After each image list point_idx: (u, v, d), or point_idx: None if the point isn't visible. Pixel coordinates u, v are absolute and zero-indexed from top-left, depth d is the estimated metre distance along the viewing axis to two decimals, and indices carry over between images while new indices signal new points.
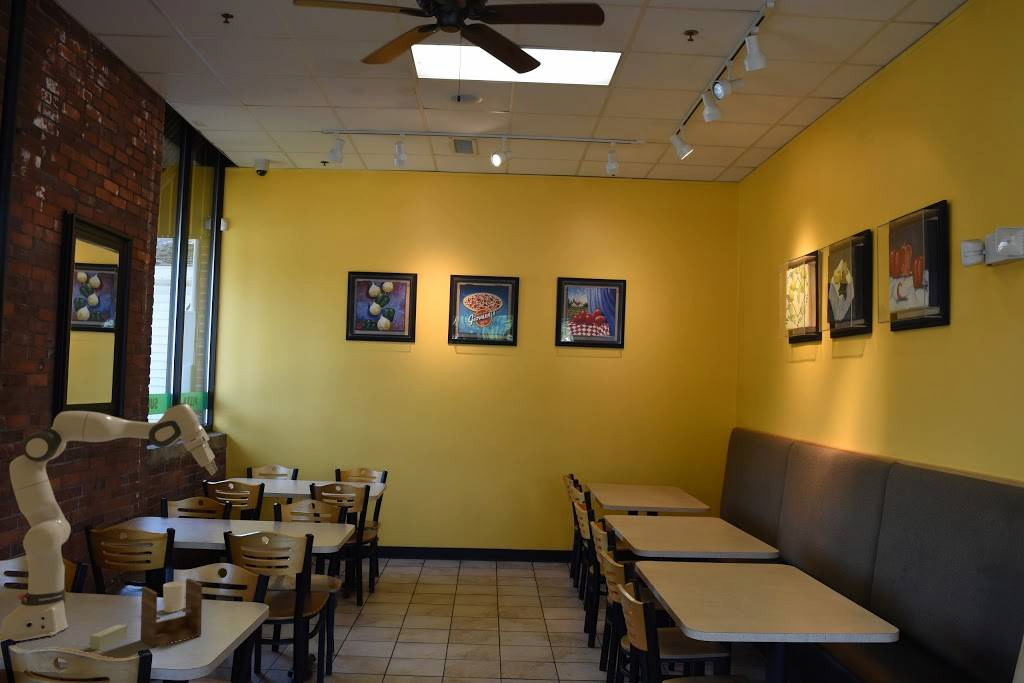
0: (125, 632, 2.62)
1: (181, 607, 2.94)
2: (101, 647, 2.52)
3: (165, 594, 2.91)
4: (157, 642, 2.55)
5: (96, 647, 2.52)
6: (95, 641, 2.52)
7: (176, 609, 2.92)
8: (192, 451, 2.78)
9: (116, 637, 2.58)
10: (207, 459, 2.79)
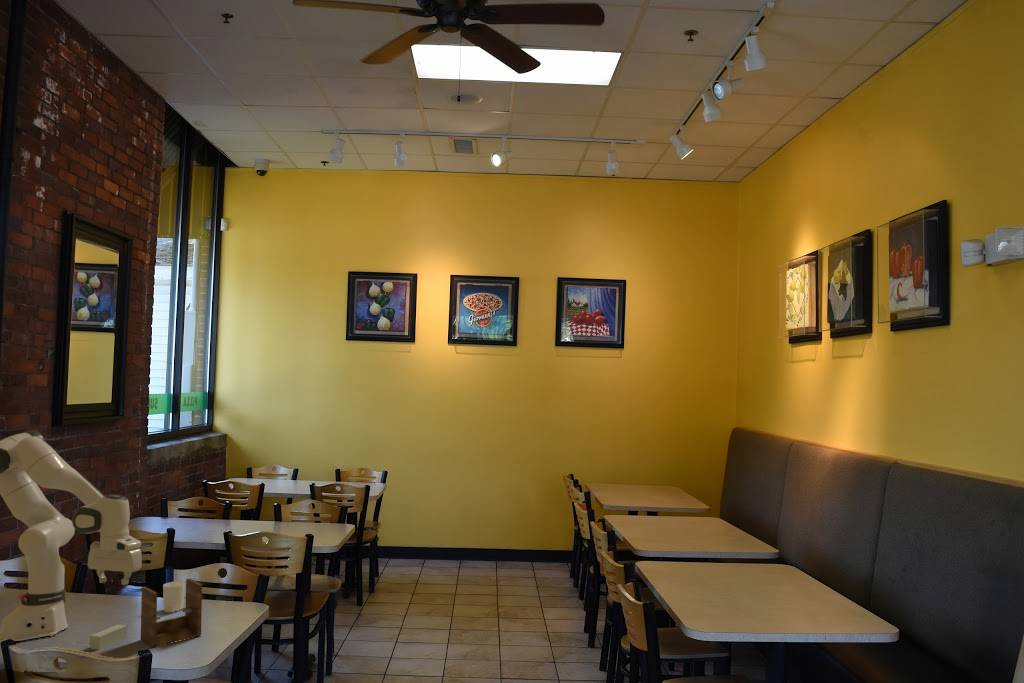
0: (125, 632, 2.62)
1: (181, 607, 2.94)
2: (101, 647, 2.52)
3: (165, 594, 2.91)
4: (157, 642, 2.55)
5: (96, 647, 2.52)
6: (95, 641, 2.52)
7: (176, 609, 2.92)
8: (131, 552, 2.55)
9: (116, 637, 2.58)
10: (140, 565, 2.57)
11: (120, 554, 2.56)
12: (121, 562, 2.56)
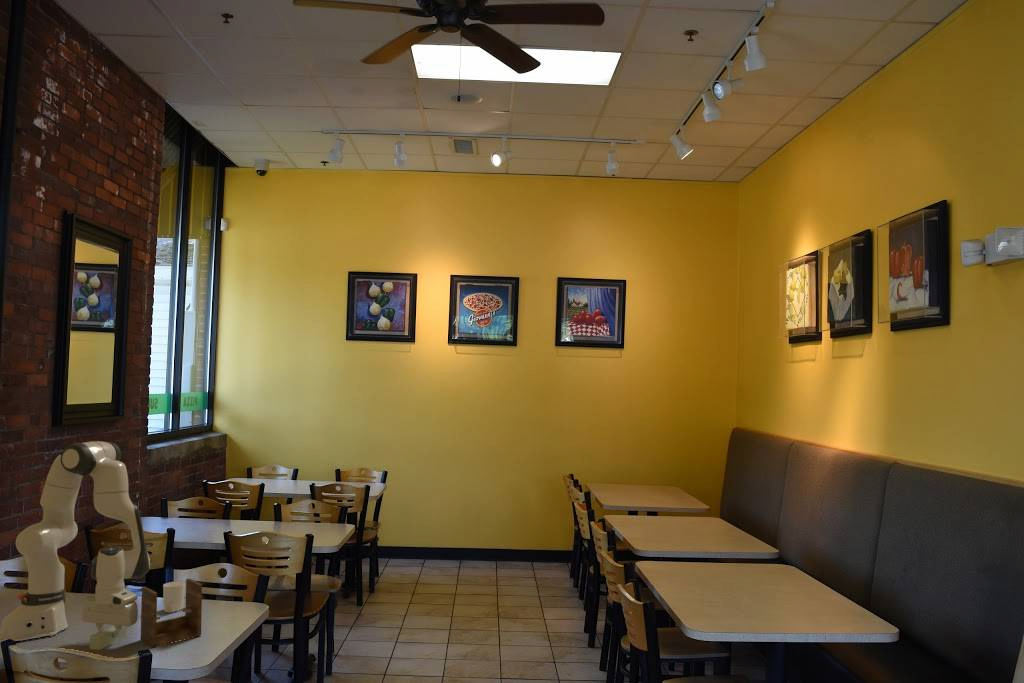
0: (125, 632, 2.62)
1: (181, 607, 2.94)
2: (101, 647, 2.52)
3: (165, 594, 2.91)
4: (157, 642, 2.55)
5: (96, 647, 2.52)
6: (95, 641, 2.52)
7: (176, 609, 2.92)
8: (127, 606, 2.54)
9: None
10: (136, 619, 2.57)
11: (116, 608, 2.55)
12: (117, 616, 2.55)
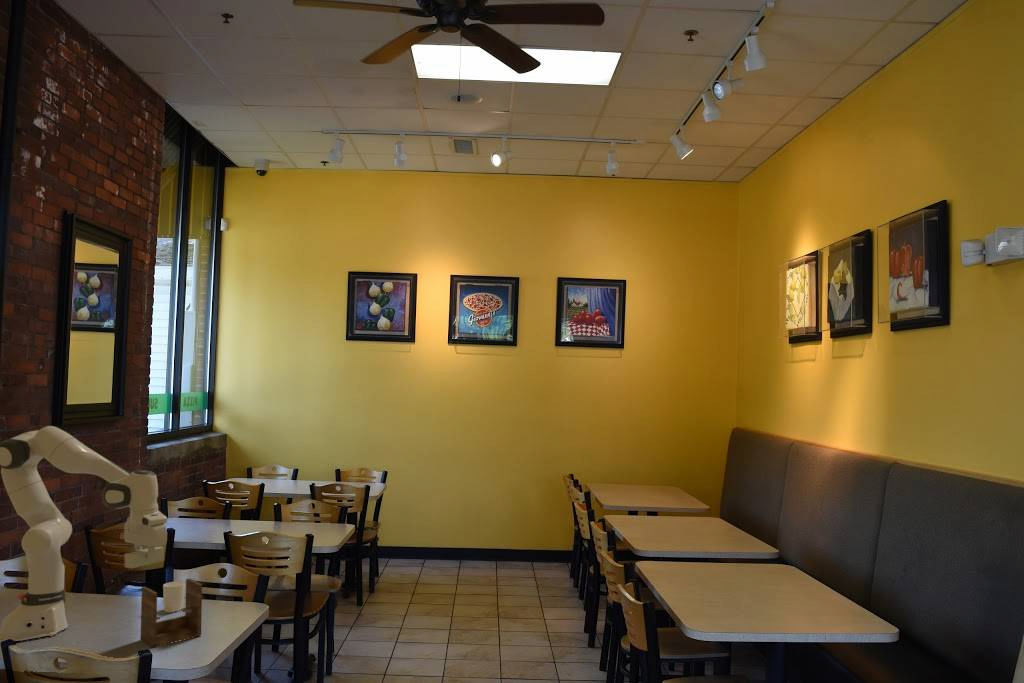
0: (162, 554, 2.64)
1: (181, 607, 2.94)
2: (133, 565, 2.56)
3: (165, 594, 2.91)
4: (157, 642, 2.55)
5: (129, 565, 2.56)
6: (128, 559, 2.56)
7: (176, 609, 2.92)
8: (154, 527, 2.55)
9: (152, 558, 2.61)
10: (165, 541, 2.57)
11: (146, 529, 2.57)
12: (147, 536, 2.57)
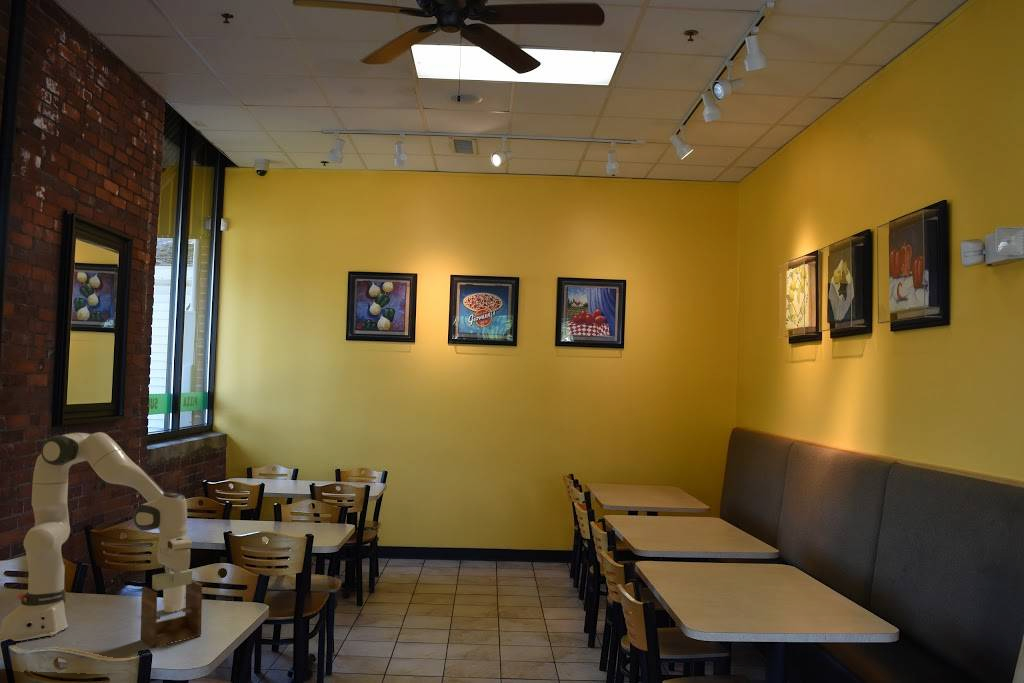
0: (189, 577, 2.66)
1: (181, 607, 2.94)
2: (159, 588, 2.58)
3: (165, 594, 2.91)
4: (157, 642, 2.55)
5: (155, 587, 2.59)
6: (154, 581, 2.59)
7: (176, 609, 2.92)
8: (177, 551, 2.56)
9: (178, 581, 2.63)
10: (188, 566, 2.58)
11: (172, 552, 2.59)
12: (172, 560, 2.59)
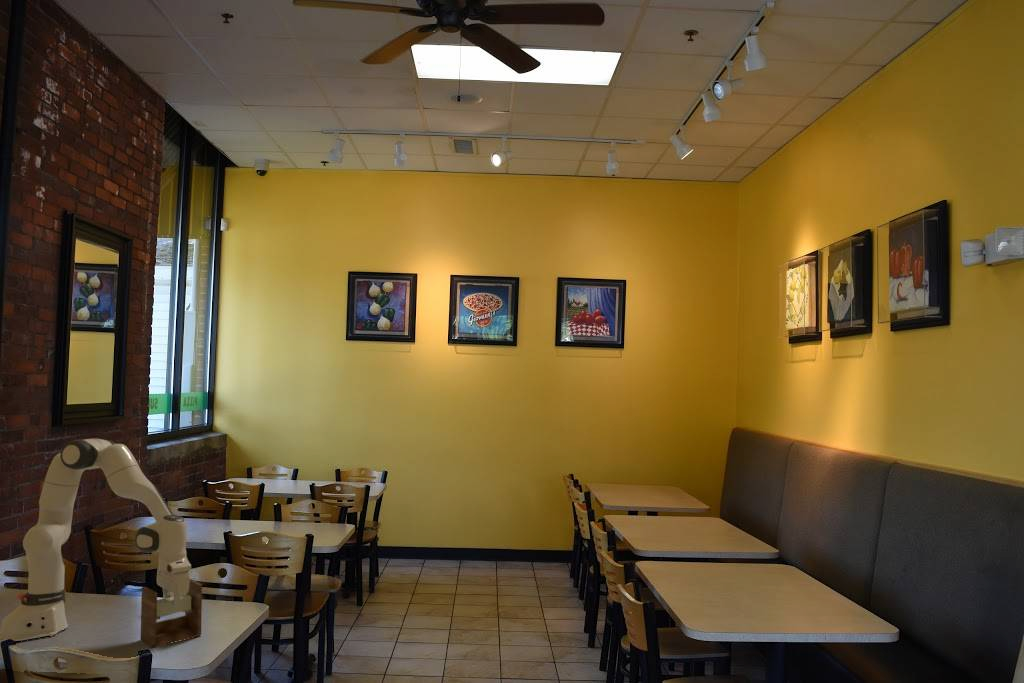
0: (188, 603, 2.65)
1: None
2: (158, 614, 2.58)
3: None
4: (157, 642, 2.55)
5: None
6: None
7: None
8: (177, 575, 2.56)
9: (178, 607, 2.63)
10: (187, 589, 2.57)
11: (171, 576, 2.59)
12: (172, 583, 2.59)
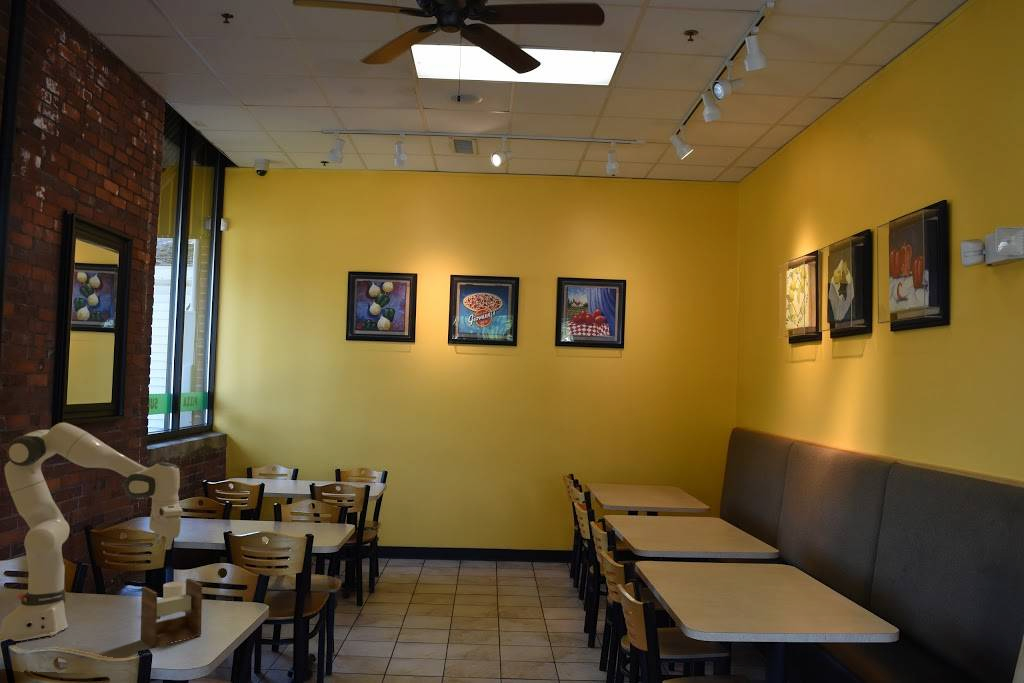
0: (188, 603, 2.65)
1: None
2: (158, 614, 2.58)
3: (165, 594, 2.91)
4: (157, 642, 2.55)
5: None
6: None
7: None
8: (168, 519, 2.64)
9: (178, 607, 2.63)
10: (178, 533, 2.65)
11: (163, 519, 2.67)
12: (163, 527, 2.66)
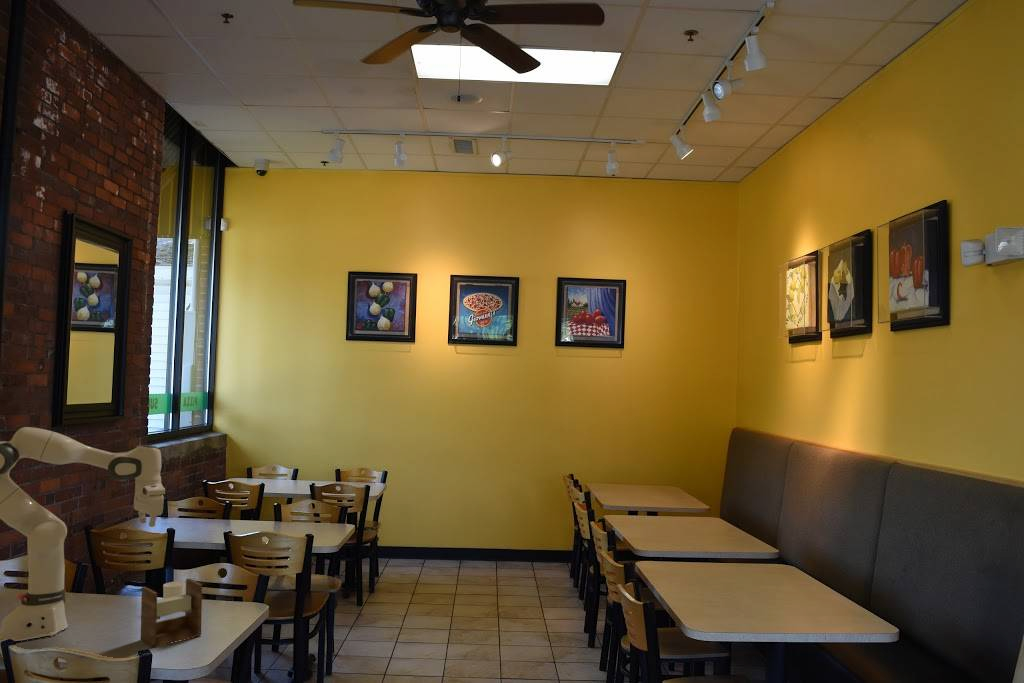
0: (188, 603, 2.65)
1: None
2: (158, 614, 2.58)
3: (165, 594, 2.91)
4: (157, 642, 2.55)
5: None
6: None
7: None
8: (151, 497, 2.78)
9: (178, 607, 2.63)
10: (161, 510, 2.79)
11: (146, 498, 2.80)
12: (147, 505, 2.80)
